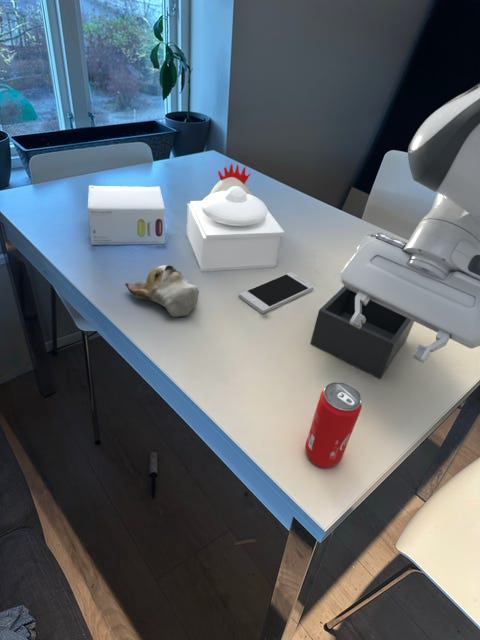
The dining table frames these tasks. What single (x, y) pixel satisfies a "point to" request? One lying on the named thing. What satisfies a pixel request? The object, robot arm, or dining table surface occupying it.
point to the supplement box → (126, 215)
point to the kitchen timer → (232, 180)
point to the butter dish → (232, 232)
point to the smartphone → (276, 292)
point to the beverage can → (333, 424)
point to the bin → (360, 333)
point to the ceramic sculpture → (167, 290)
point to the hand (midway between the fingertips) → (385, 342)
